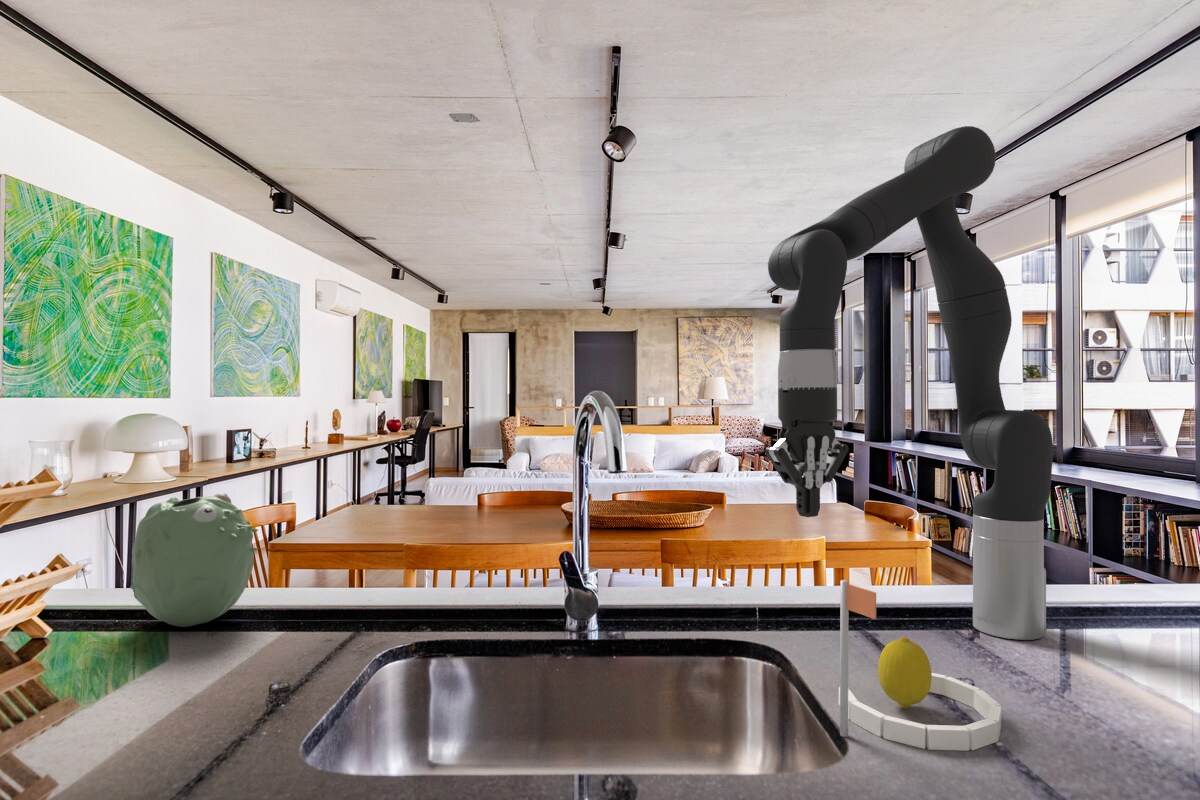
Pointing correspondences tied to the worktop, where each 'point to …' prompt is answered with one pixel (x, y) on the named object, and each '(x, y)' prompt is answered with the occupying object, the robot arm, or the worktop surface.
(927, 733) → the white arc
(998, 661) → the worktop surface
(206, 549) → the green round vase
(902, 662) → the lemon
